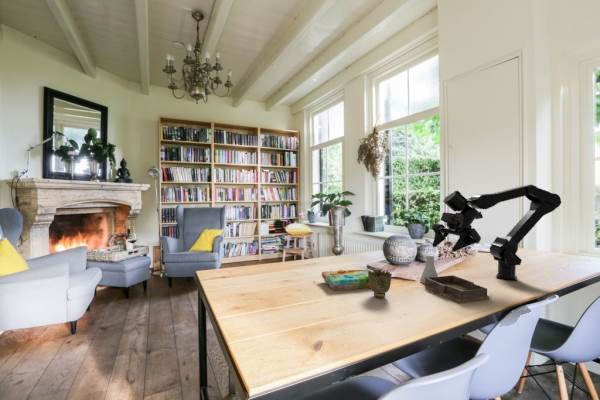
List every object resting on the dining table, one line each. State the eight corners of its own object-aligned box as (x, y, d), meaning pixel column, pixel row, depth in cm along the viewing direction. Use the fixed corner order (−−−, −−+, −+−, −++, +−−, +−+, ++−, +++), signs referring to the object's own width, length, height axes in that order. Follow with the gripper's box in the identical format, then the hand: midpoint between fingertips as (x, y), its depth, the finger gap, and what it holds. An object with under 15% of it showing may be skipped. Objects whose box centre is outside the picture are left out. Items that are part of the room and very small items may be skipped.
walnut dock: (425, 287, 101) (425, 277, 101) (452, 285, 105) (452, 275, 104) (458, 303, 87) (458, 291, 87) (489, 299, 90) (489, 288, 90)
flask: (439, 280, 110) (439, 255, 110) (441, 286, 103) (442, 259, 103) (418, 278, 112) (419, 253, 112) (420, 284, 105) (420, 257, 105)
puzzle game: (321, 270, 108) (369, 266, 113) (321, 282, 109) (368, 278, 114) (332, 279, 97) (384, 275, 102) (332, 292, 97) (384, 288, 102)
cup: (378, 302, 88) (379, 276, 87) (363, 295, 94) (363, 271, 94) (396, 298, 91) (396, 273, 91) (380, 291, 98) (380, 268, 97)
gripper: (434, 204, 120) (413, 231, 116) (475, 206, 102) (452, 238, 99) (448, 222, 123) (428, 249, 119) (490, 227, 105) (468, 259, 102)
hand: (442, 248), depth 110 cm, fingers open, 9 cm apart
